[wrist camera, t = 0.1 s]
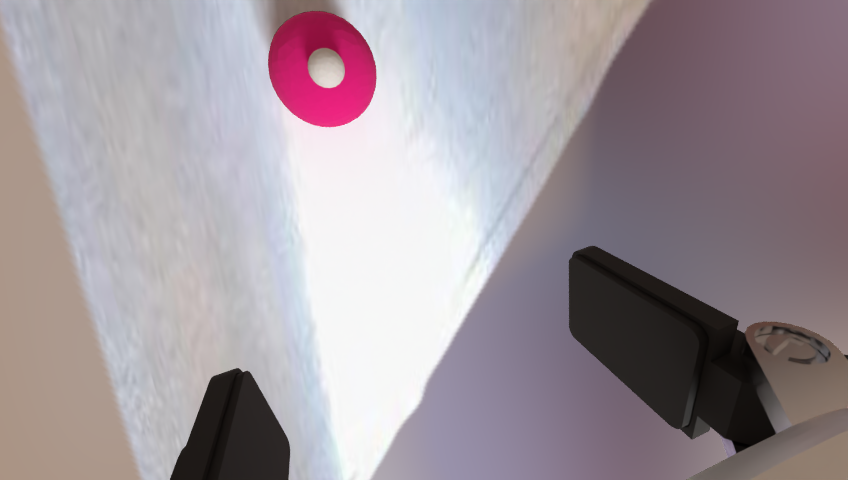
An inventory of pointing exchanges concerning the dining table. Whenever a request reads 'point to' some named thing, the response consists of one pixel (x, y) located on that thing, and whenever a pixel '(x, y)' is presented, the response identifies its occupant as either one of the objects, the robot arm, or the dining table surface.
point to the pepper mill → (322, 69)
